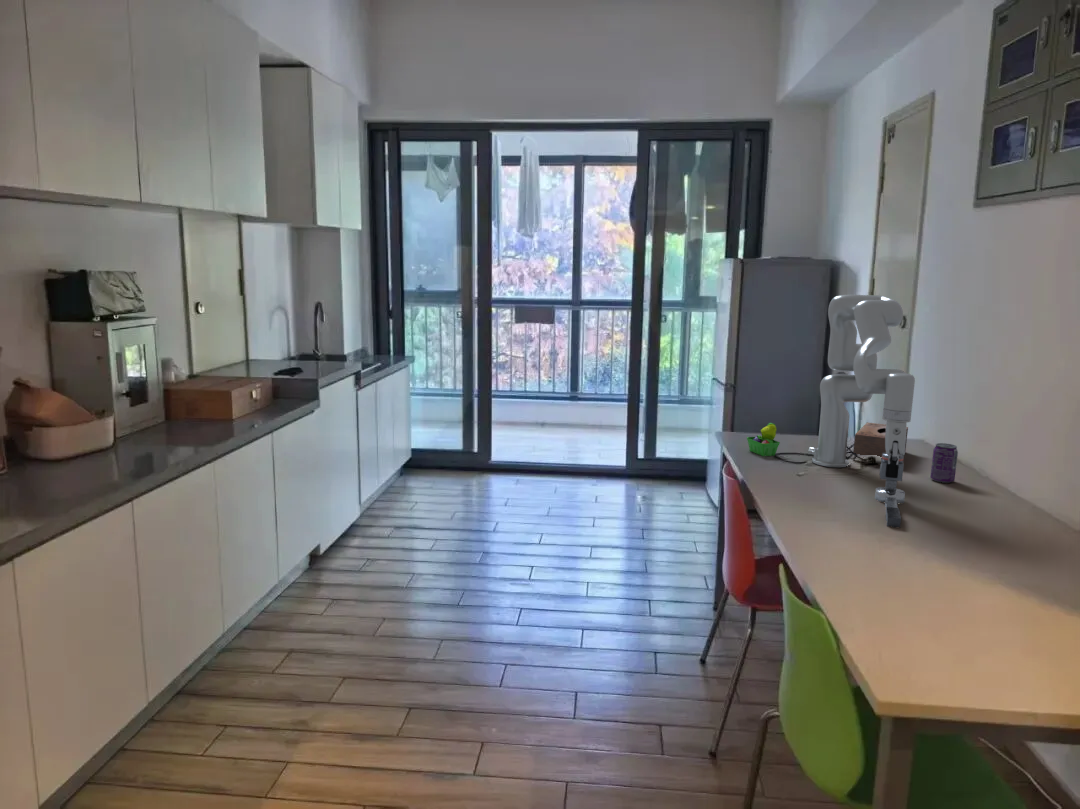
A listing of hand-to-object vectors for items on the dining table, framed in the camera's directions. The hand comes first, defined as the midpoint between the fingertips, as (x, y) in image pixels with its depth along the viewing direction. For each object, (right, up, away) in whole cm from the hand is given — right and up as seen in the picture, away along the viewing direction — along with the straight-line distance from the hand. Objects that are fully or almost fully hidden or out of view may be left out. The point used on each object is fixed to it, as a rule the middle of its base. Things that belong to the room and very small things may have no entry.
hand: (890, 474), depth 229 cm
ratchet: (-4, -10, -9) cm, 14 cm away
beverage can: (+28, -5, +24) cm, 37 cm away
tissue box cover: (+21, +1, +55) cm, 59 cm away
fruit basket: (-21, +2, +57) cm, 61 cm away
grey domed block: (0, -1, 0) cm, 1 cm away
